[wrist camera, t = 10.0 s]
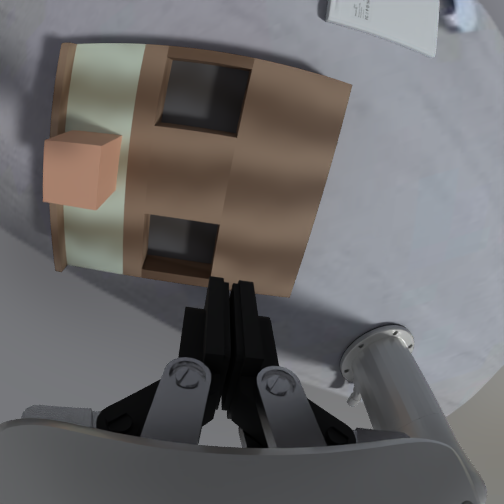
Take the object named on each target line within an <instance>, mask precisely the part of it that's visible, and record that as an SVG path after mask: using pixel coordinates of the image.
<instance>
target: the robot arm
mask: <svg viewBox="0 0 504 504" xmlns="http://www.w3.org/2000/svg"><path fill="white" fill-rule="evenodd" d="M413 348H414V338H413V336H412V334H411V333H410V332H409V330H408V329H406V328H405V327H402V326H398V325H389V326H383V327H379V328H376V329H374V330H371V331H369V332H368V333H366V334H364V335H362V336H361V337H359V338H358V339H357V340H356V341H354V342H353V343H352V344H351V345H350V346H349V347H348V348H347V350H346V351H345V353H344V354H343V356H342V359H341V362H340V369H341V372H342V375H343V376H344V378H345V379H346V380H348V381H350V382H352V383H354V386H355V387H354V389H353V391H354V392H353V393H352V394H351V395H350V397H349V398H348V400H347V403H348V405H349V406H351V407H355V406H356V405H357V404H358V403H359V401H360V400H361V398H362V400H363V402H364V405H365V408H366V410H367V413H368V416H369V418H370V421H371V424H372V427H373V429H364V428H356V429H355V430H352V429H351V428H350V427H349V426H347V425H346V424H345V423H343V422H342V421H340V420H338V419H337V418H335V417H334V416H332V415H331V414H329V413H328V412H327V411H325V410H324V409H322V408H321V407H319V406H318V405H316V404H315V403H313V402H312V401H310V400H309V399H308V398H307V397H306V394H305V392H304V390H303V387H302V385H301V383H300V380H299V379H298V377H297V376H296V375H295V374H294V373H293V372H292V371H290V370H288V369H287V368H284V367H280V366H279V363H278V358H277V352H276V347H275V341H274V336H273V331H272V325H271V320H270V318H269V317H262V316H258V311H257V304H256V297H255V290H254V283H253V282H250V281H242V280H239V281H238V284H237V283H233V284H232V289H231V293H230V298H229V282H224V278H221V277H214V276H210V277H209V283H208V289H207V295H206V301H205V308H204V309H198V308H191V307H186V308H185V315H184V321H183V328H182V335H181V343H180V350H179V358H177V359H174V360H172V361H171V362H169V363H168V364H167V366H166V367H165V369H164V372H163V375H162V377H161V379H160V380H158V381H156V382H155V383H153V384H151V385H149V386H147V387H145V388H143V389H142V390H139V391H138V392H136V393H134V394H132V395H130V396H128V397H126V398H124V399H122V400H120V401H118V402H116V403H114V404H112V405H110V406H108V407H106V408H105V409H104V410H102V411H92V409H91V408H72V407H57V406H45V405H33V406H30V407H28V408H27V409H26V410H25V411H24V412H23V414H22V417H21V419H16V420H10V421H6V422H3V423H1V424H0V504H485V502H486V499H487V490H486V486H485V483H484V481H483V479H482V477H481V475H480V474H479V472H478V471H477V470H476V468H475V467H474V465H473V464H472V463H471V461H470V459H469V458H468V457H467V455H466V453H465V452H464V450H463V449H462V447H461V446H460V444H459V442H458V440H457V438H456V436H455V434H454V432H453V431H452V429H451V427H450V425H449V423H448V421H447V419H446V417H445V415H444V413H443V411H442V409H441V407H440V405H439V403H438V401H437V399H436V398H435V396H434V394H433V392H432V390H431V388H430V386H429V384H428V383H427V381H426V379H425V377H424V375H423V373H422V372H421V370H420V368H419V366H418V364H417V363H416V361H415V359H414V357H413V356H412V354H411V353H412V351H413ZM221 397H222V410H227V418H228V419H232V421H233V422H234V423H235V424H237V425H238V426H239V428H238V429H239V436H240V440H241V444H242V448H235V447H218V446H205V445H198V443H199V438H200V434H201V429H202V426H204V425H205V424H207V423H208V422H209V421H211V420H212V419H213V417H214V413H215V409H216V410H217V409H218V406H219V402H220V398H221Z"/></svg>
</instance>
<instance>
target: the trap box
mask: <svg viewBox="0 0 504 504" xmlns="http://www.w3.org/2000/svg"><path fill="white" fill-rule="evenodd" d="M351 88H352V85H351V84H348V83H345V82H342V81H339V80H336V79H333V78H330V77H327V76H323V75H320V74H317V73H313V72H310V71H306V70H302V69H299V68H295V67H291V66H287V65H283V64H279V63H275V62H270V61H266V60H261V59H257V58H252V57H247V56H241V55H236V54H230V53H224V52H218V51H211V50H204V49H196V48H187V47H177V46H166V45H152V44H129V43H94V44H74V43H62V44H61V49H60V55H59V60H58V66H57V73H56V79H55V87H54V95H53V104H52V114H51V127H50V138H52V137H54V136H57V135H60V134H63V133H65V132H68V131H71V130H77V131H87V132H97V133H106V134H114V135H122V141H121V149H120V156H119V165H118V174H117V183H116V190H115V191H114V192H113V193H112V194H111V195H110V197H109V198H108V199H107V200H106V201H105V202H104V203H103V204H102V205H101V206H100V207H99V208H98V209H97V210H90V209H84V208H79V207H73V206H67V205H61V204H55V203H49V204H50V222H51V235H52V246H53V255H54V264H55V270H56V271H59V272H62V271H63V270H64V268H65V267H66V266H67V265H72V266H77V267H83V268H88V269H94V270H100V271H105V272H111V273H117V274H123V275H129V276H135V277H142V278H148V279H154V280H161V281H167V282H174V283H181V284H188V285H195V286H202V287H208V283H209V277H210V276H214V277H221V278H224V282H229V290H231V289H232V284H233V283H237V284H238V281H239V280H242V281H250V282H253V283H254V290H255V294H263V295H271V296H279V297H288V298H289V297H290V295H291V292H292V289H293V286H294V283H295V280H296V277H297V274H298V271H299V268H300V265H301V261H302V258H303V255H304V252H305V249H306V246H307V243H308V240H309V236H310V233H311V230H312V227H313V224H314V220H315V217H316V214H317V211H318V207H319V204H320V201H321V197H322V194H323V191H324V187H325V184H326V180H327V177H328V173H329V170H330V166H331V163H332V159H333V156H334V152H335V149H336V145H337V141H338V138H339V134H340V130H341V127H342V123H343V119H344V115H345V111H346V108H347V104H348V100H349V96H350V92H351Z"/></svg>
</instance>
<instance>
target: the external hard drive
mask: <svg viewBox="0 0 504 504" xmlns="http://www.w3.org/2000/svg"><path fill="white" fill-rule="evenodd" d="M438 21H439V0H328V4H327V12H326V19H325V22H329V23H332V24H336V25H340V26H344V27H347V28H351V29H354V30H357V31H360V32H363V33H367V34H370V35H373V36H376V37H378V38H381V39H384V40H387V41H390V42H392V43H395V44H398V45H400V46H403V47H405V48H408V49H410V50H413V51H415V52H417V53H420V54H422V55H424V56H426V57H429V58H434V57H435V53H436V44H437V33H438Z"/></svg>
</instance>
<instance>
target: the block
mask: <svg viewBox="0 0 504 504" xmlns="http://www.w3.org/2000/svg"><path fill="white" fill-rule="evenodd" d="M121 141H122V135H114V134H106V133H97V132H87V131H77V130H71V131H68V132H65V133H63V134H60V135H57V136H54V137H52V138H49V139H46V140H45V143H44V161H43V202H49V203H55V204H61V205H67V206H73V207H79V208H84V209H90V210H97V209H98V208H99V207H100V206H101V205H102V204H103V203H104V202H105V201H106V200H107V199H108V198H109V197H110V195H111V194H112V193H113V192H114V191H115V190H116V183H117V174H118V165H119V156H120V149H121Z"/></svg>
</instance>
